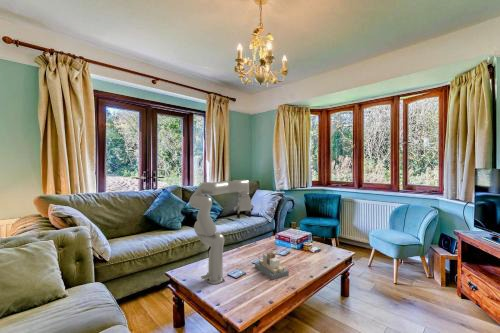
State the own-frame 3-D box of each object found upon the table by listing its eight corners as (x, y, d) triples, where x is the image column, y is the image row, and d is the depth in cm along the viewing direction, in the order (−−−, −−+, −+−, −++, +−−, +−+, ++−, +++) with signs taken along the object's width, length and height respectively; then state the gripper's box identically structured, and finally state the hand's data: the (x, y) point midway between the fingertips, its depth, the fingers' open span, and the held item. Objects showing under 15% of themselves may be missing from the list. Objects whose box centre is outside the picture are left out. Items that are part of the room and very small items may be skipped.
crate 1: (266, 263, 167) (266, 256, 167) (262, 260, 171) (263, 254, 171) (272, 262, 169) (272, 255, 169) (268, 259, 173) (268, 253, 173)
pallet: (274, 273, 155) (274, 259, 155) (259, 262, 173) (259, 249, 173) (284, 271, 159) (284, 257, 159) (267, 260, 177) (267, 248, 177)
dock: (272, 281, 153) (272, 275, 153) (255, 268, 172) (255, 262, 172) (288, 276, 160) (288, 270, 160) (270, 264, 179) (270, 259, 179)
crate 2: (273, 268, 159) (273, 261, 159) (269, 265, 163) (269, 258, 163) (279, 266, 161) (279, 259, 161) (275, 264, 166) (275, 257, 165)
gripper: (236, 197, 171) (236, 219, 172) (256, 195, 180) (255, 217, 180) (232, 195, 178) (231, 217, 178) (251, 194, 186) (251, 215, 187)
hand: (244, 217), depth 179 cm, fingers open, 9 cm apart
